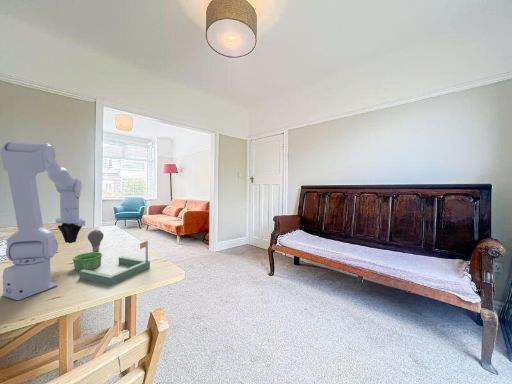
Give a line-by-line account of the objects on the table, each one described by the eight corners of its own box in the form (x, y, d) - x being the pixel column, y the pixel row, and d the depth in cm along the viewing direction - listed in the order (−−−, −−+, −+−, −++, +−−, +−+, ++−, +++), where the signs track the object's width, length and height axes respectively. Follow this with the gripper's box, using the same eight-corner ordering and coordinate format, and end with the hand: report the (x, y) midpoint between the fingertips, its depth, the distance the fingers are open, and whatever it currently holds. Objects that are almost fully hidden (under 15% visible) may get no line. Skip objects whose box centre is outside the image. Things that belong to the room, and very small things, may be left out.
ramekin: (74, 265, 86) (74, 254, 86) (102, 261, 91) (102, 250, 91) (71, 273, 78) (70, 261, 78) (101, 268, 83) (101, 257, 83)
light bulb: (95, 253, 99) (95, 231, 99) (84, 252, 101) (84, 231, 100) (106, 249, 105) (106, 229, 105) (96, 248, 106) (96, 228, 106)
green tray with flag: (110, 285, 70) (109, 252, 69) (79, 278, 74) (78, 247, 74) (149, 267, 85) (149, 240, 84) (122, 262, 89) (121, 236, 89)
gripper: (93, 208, 88) (93, 241, 89) (69, 206, 93) (69, 238, 94) (73, 210, 82) (74, 246, 82) (48, 208, 86) (49, 242, 87)
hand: (70, 242), depth 87 cm, fingers closed
